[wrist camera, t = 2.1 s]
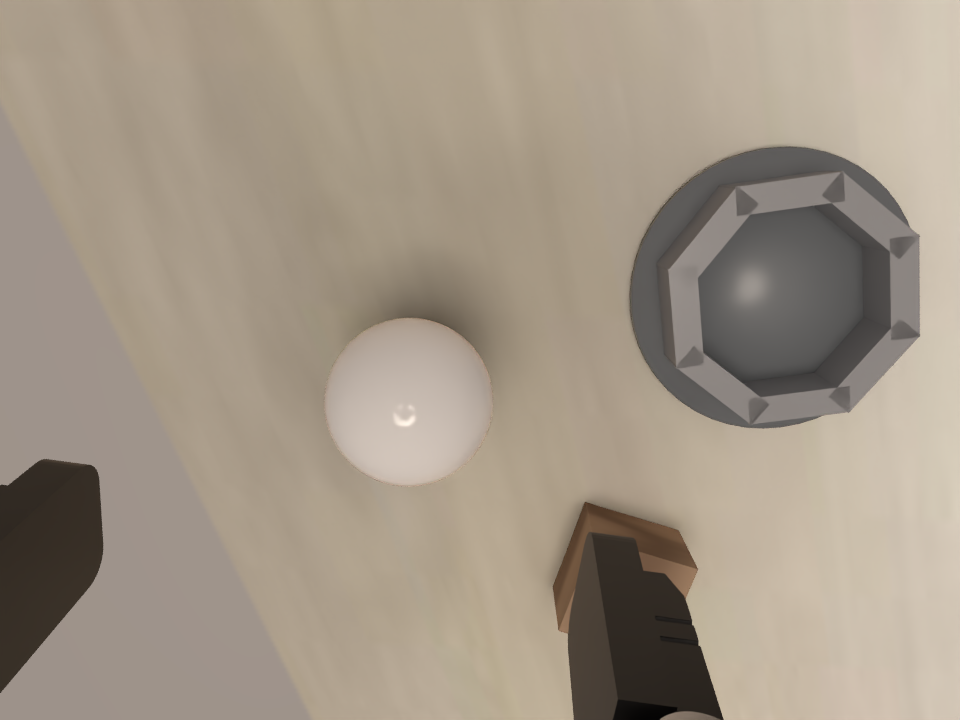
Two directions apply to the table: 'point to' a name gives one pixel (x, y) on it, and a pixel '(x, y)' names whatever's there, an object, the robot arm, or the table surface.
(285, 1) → the table surface
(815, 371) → the socket collar
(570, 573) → the walnut block
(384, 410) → the lightbulb
